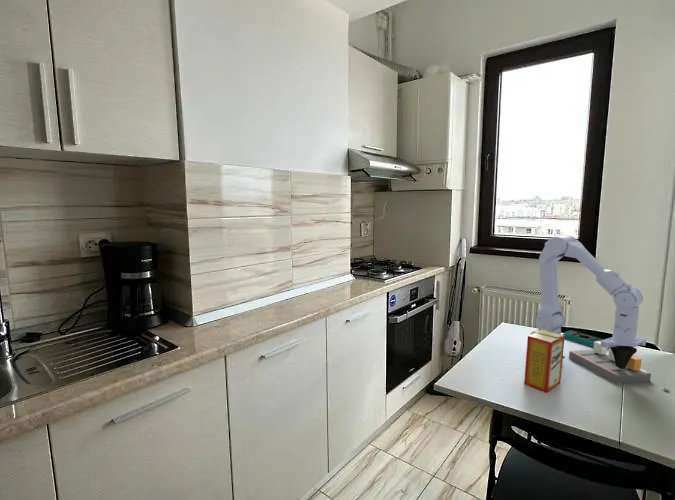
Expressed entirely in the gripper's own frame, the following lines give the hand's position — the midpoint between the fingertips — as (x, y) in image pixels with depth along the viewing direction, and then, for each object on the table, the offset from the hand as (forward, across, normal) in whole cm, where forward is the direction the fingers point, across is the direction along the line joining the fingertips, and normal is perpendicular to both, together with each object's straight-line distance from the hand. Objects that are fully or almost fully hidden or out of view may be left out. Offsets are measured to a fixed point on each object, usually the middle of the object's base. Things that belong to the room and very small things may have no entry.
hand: (620, 367), depth 115 cm
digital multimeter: (+4, +14, +28) cm, 31 cm away
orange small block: (0, +5, 0) cm, 5 cm away
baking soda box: (+4, -28, 0) cm, 28 cm away
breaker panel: (+3, +2, +6) cm, 7 cm away
